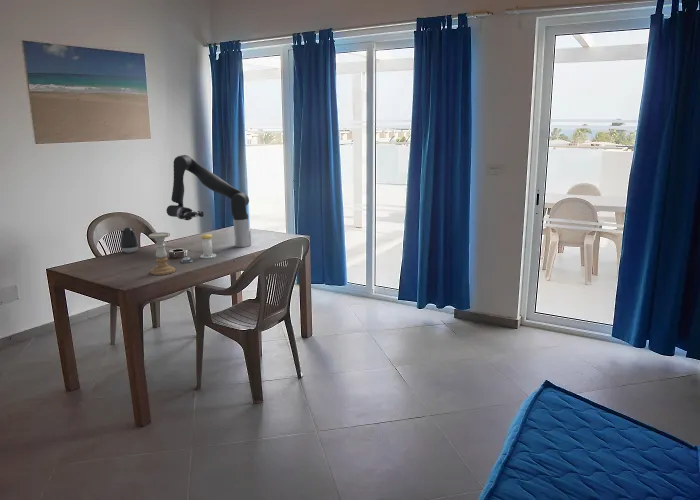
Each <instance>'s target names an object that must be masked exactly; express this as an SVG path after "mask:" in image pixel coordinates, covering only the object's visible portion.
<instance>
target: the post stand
mask: <svg viewBox="0 0 700 500" xmlns="http://www.w3.org/2000/svg"><path fill="white" fill-rule="evenodd" d="M192 262H194V259H192V257H190V256H185V257H182V259H181V260H180V263H181V264H189V263H192Z"/></svg>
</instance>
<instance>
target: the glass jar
mask: <svg viewBox="0 0 700 500" xmlns="http://www.w3.org/2000/svg"><path fill="white" fill-rule="evenodd" d="M200 239H201V240H202V251H203V252H202V253H203V254H202V255H204V256H206V257H207V256H212V255H213V254H214V253H213V234H212V233H206V234H201V235H200Z"/></svg>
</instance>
